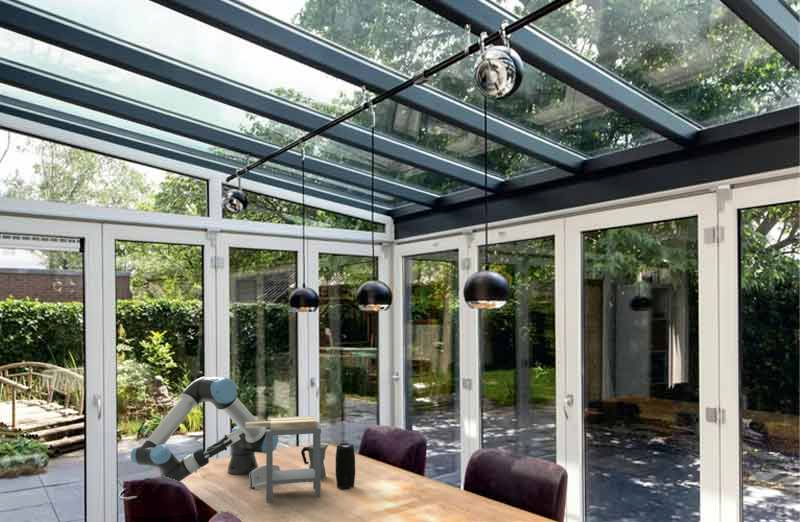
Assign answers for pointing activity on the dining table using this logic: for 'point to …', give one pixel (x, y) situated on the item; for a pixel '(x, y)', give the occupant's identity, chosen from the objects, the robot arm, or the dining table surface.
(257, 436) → the robot arm
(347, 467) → the portable speaker
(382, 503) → the dining table surface
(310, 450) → the coffeepot
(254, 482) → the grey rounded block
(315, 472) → the side table
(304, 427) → the cutting board
